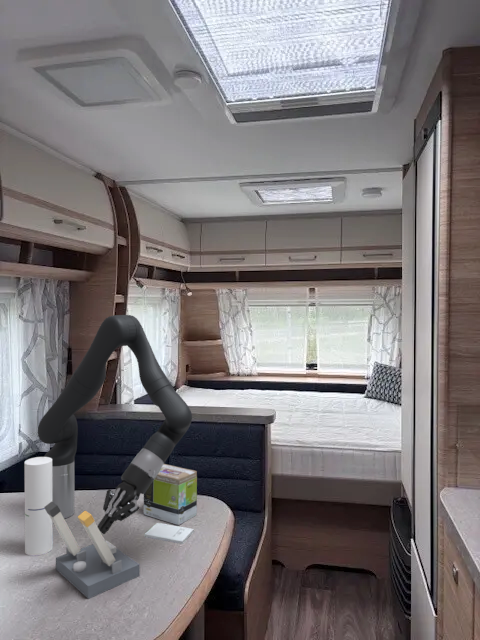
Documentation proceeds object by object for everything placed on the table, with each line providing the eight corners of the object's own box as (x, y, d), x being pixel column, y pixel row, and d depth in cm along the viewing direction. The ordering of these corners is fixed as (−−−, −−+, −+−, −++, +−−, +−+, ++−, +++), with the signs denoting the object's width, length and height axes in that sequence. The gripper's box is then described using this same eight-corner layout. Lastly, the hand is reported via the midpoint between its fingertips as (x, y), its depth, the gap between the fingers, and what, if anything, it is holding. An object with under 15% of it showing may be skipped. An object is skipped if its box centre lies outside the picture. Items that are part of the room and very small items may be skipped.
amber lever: (103, 564, 123) (76, 516, 118) (110, 558, 124) (83, 509, 119) (112, 571, 120) (84, 522, 114) (119, 564, 121) (92, 515, 116)
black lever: (69, 554, 128) (43, 506, 122) (76, 548, 129) (50, 500, 124) (77, 561, 125) (50, 511, 119) (84, 554, 126) (58, 505, 121)
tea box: (197, 515, 160) (198, 470, 159) (178, 526, 151) (178, 479, 151) (162, 504, 168) (163, 462, 167) (142, 515, 159) (142, 470, 159)
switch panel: (55, 569, 126) (55, 548, 126) (104, 550, 136) (104, 531, 136) (88, 598, 114) (88, 576, 114) (139, 575, 124) (139, 554, 123)
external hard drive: (157, 527, 152) (194, 533, 148) (144, 539, 144) (182, 546, 140) (157, 521, 152) (194, 528, 148) (144, 533, 144) (182, 540, 140)
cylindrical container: (42, 557, 132) (42, 466, 131) (19, 554, 134) (18, 463, 133) (57, 544, 139) (57, 457, 138) (35, 541, 141) (34, 456, 140)
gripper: (120, 457, 131) (77, 515, 122) (148, 469, 121) (103, 533, 113) (137, 471, 135) (97, 529, 126) (166, 484, 125) (124, 548, 117)
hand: (100, 531), depth 120 cm, fingers closed
